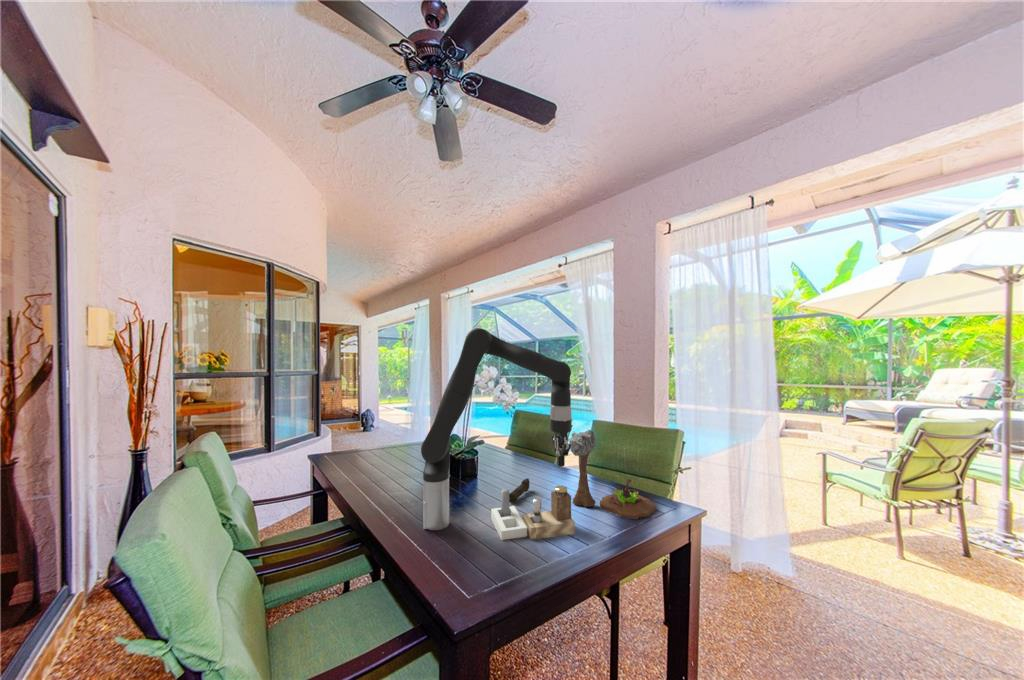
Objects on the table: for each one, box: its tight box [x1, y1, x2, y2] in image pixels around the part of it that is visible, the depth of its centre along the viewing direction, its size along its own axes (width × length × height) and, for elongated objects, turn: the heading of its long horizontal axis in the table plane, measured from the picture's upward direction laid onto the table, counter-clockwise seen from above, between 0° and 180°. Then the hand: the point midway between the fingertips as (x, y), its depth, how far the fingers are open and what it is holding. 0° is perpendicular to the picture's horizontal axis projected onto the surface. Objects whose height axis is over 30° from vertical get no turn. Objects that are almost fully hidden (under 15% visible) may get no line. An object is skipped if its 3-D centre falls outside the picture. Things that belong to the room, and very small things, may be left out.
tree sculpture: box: [568, 429, 597, 508], centre depth 151 cm, size 15×10×30 cm
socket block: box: [521, 490, 576, 541], centre depth 129 cm, size 16×10×13 cm, turn 105°
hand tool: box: [509, 478, 530, 504], centre depth 159 cm, size 19×4×5 cm, turn 152°
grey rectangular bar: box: [532, 497, 542, 523], centre depth 128 cm, size 3×3×12 cm
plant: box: [599, 478, 657, 520], centre depth 148 cm, size 20×20×11 cm
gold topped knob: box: [554, 485, 568, 496], centre depth 130 cm, size 4×4×7 cm
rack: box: [490, 488, 528, 541], centre depth 131 cm, size 9×17×12 cm, turn 15°
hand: (560, 465), depth 130 cm, fingers closed
